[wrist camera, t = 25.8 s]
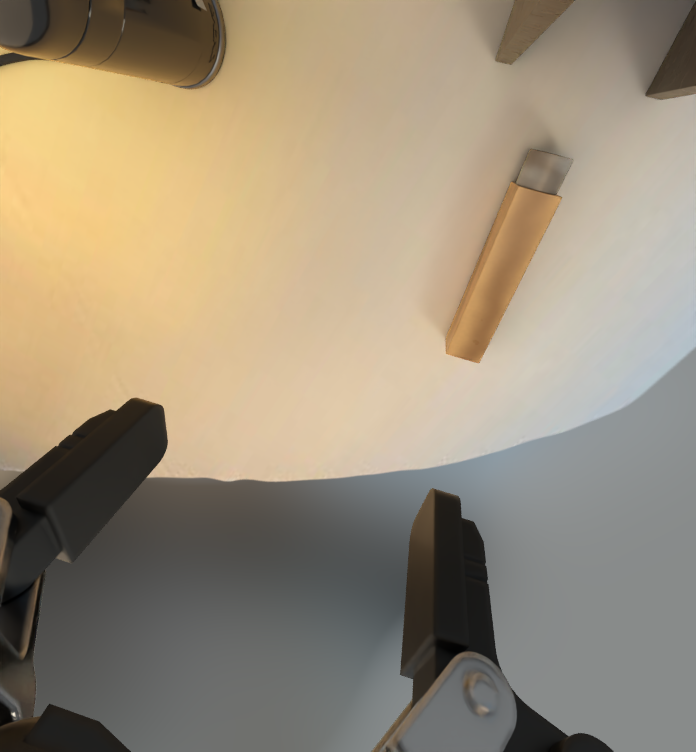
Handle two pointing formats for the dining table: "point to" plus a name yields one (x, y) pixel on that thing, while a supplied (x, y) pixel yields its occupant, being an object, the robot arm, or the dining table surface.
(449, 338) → the long wooden beam
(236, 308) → the dining table surface
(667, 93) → the shelf stand
